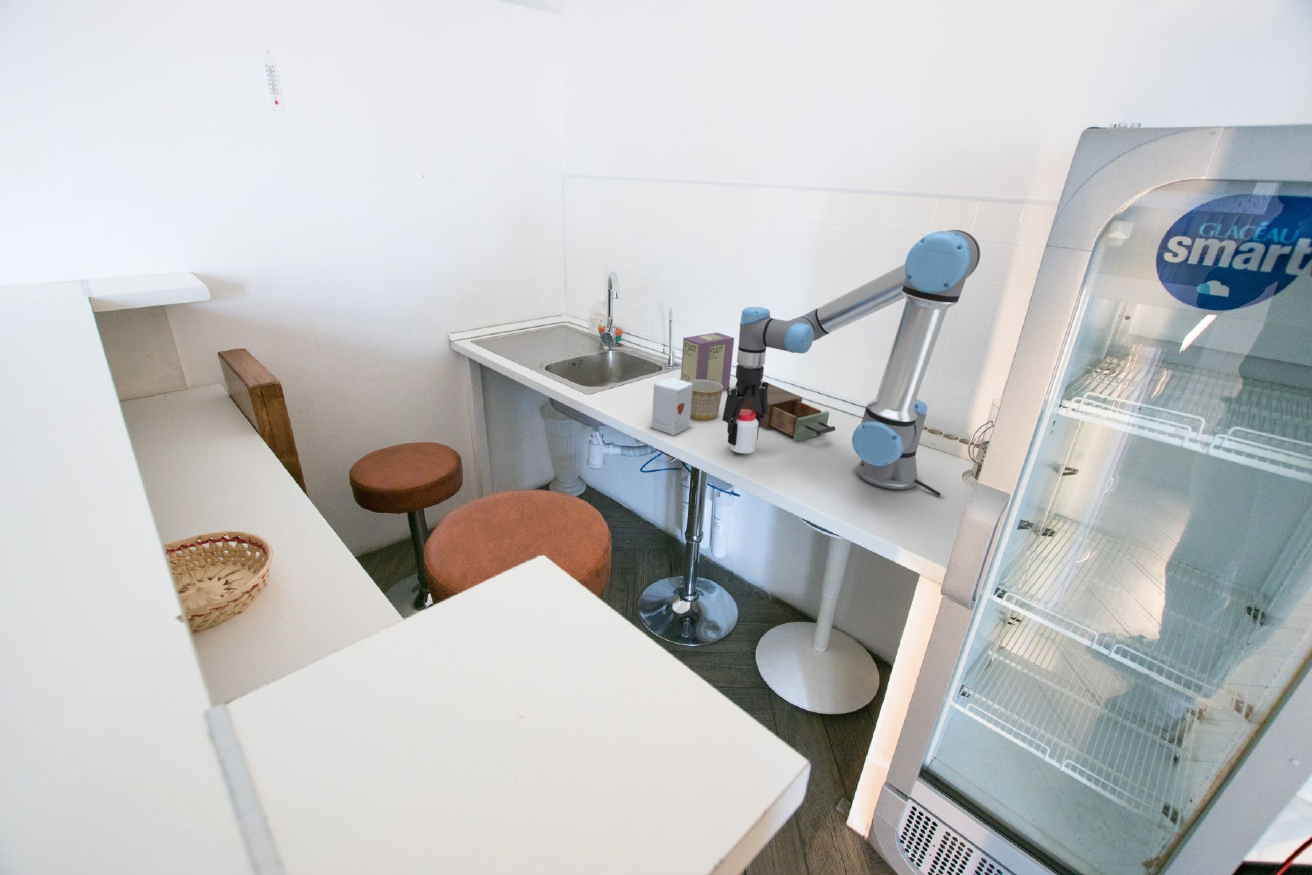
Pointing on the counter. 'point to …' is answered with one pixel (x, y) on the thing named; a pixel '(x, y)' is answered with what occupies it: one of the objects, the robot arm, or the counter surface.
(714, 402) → the planter
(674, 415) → the rectangular carton
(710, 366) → the box
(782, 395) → the cabinet
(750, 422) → the pill bottle
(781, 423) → the drawer
